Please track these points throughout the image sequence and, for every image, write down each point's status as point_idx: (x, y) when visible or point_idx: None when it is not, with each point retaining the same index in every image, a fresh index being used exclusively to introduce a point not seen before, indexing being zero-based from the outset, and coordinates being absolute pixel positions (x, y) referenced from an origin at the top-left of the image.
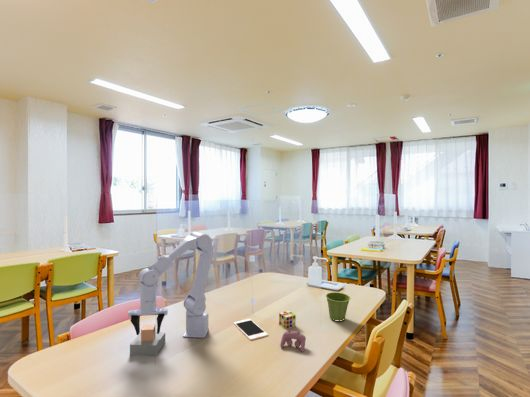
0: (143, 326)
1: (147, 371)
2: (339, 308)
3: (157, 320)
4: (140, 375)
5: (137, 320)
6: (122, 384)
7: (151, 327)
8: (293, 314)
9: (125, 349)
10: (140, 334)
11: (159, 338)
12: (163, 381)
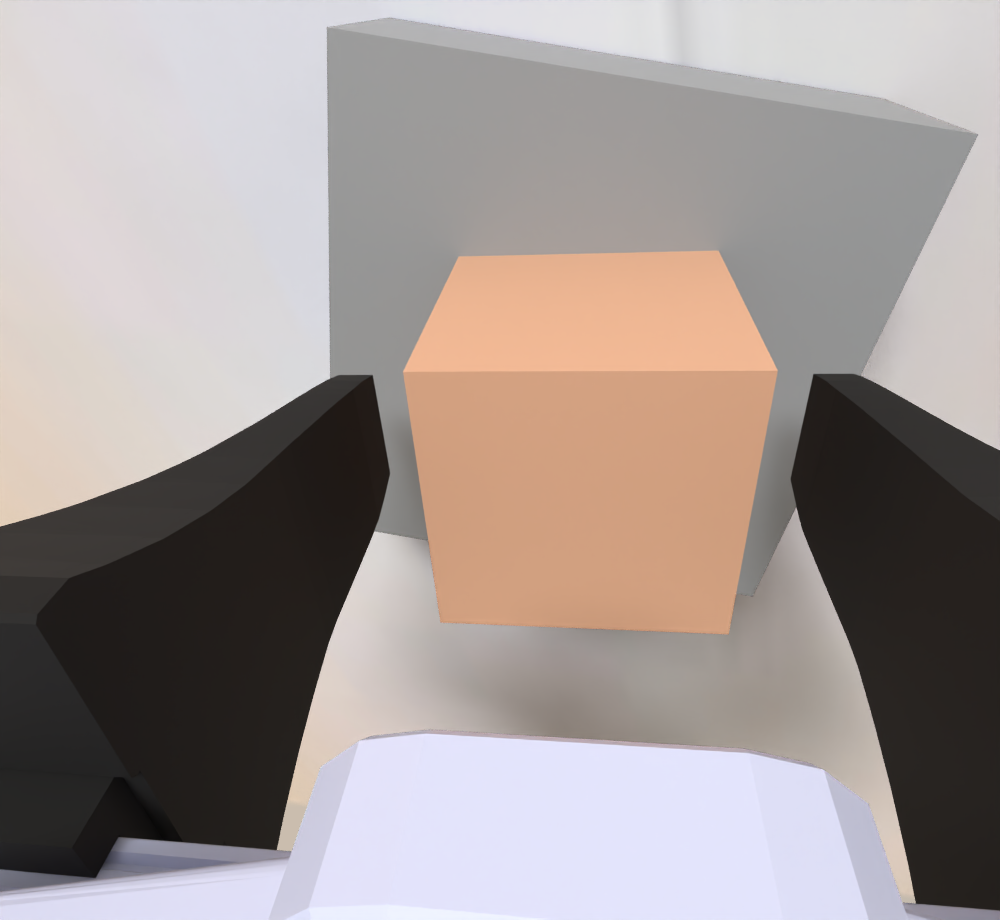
0: (435, 467)
1: (661, 704)
2: None
3: (935, 900)
4: (607, 734)
5: (256, 805)
6: None
7: (673, 542)
8: None
9: (242, 289)
10: (363, 184)
11: None
12: None
